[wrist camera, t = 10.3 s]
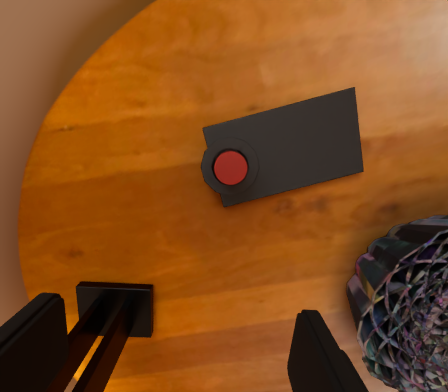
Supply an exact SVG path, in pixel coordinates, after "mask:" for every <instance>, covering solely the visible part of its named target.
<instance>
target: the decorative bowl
mask: <svg viewBox="0 0 448 392" xmlns="http://www.w3.org/2000/svg"><path fill="white" fill-rule="evenodd" d="M355 269H356V273H355V274H354V275H353V277H352V278H351V279H350V280H349V281H348V282H347V288H346V293H347V296H348V300H349V303H350V308H351V312H352V315H353V319H354V322H355V326H356V329H357V333H358V334H357V341H358V343H359V345H360V347H361V349H362V351H363V354H362V360H363V362H364V364H365V366H366V368H367V370H368V371H369V373H370V375H371V376H373V377H375V378H377V379H379V380H381V381H383V383H384V384H385V385H386V386H389V387H392V388H394V389H397V390H398V391H399V392H448V215H435V216H432V217H430V218H427V219H419V220H416V221H413V222H410V223H408V224H400V225H397V226H394V227H393V228H392V229H391V230H390V231H389V232H388V234H387V236H386V237H381V238H378V239H376V240H374V241H373V242H372V243H371V245H370V246H369V247H368V253H366V254H363V255H361V256H360V258H359V259H358V260H357V261H356V265H355Z"/></svg>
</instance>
